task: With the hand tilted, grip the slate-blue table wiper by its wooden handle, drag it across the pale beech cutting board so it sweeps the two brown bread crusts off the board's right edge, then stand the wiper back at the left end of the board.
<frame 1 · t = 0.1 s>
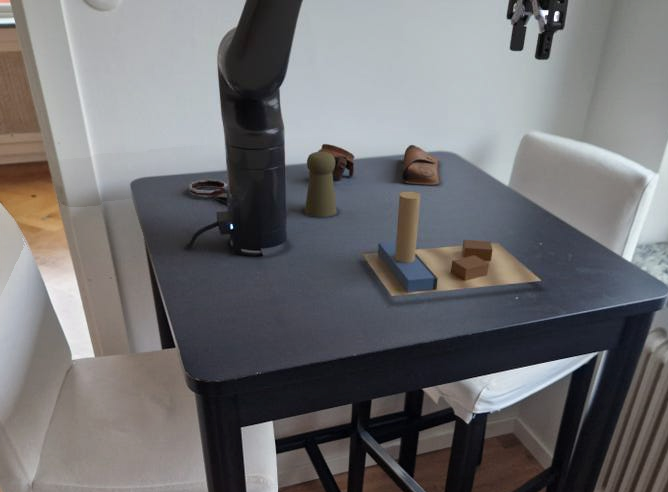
hand: (528, 55, 109), 29 cm above the table, tool pointing down, fingers open, 8 cm apart
cutting board: (448, 275, 106), on the table
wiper: (403, 271, 104), point 1 cm above the table, touching cutting board
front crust: (468, 273, 104), point 1 cm above the table, touching cutting board
keychain: (229, 200, 133), on the table
sunglasses case: (421, 173, 152), on the table
pottery mug: (332, 181, 145), on the table
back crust: (476, 256, 110), point 1 cm above the table, touching cutting board
olive game pawn: (320, 212, 129), on the table
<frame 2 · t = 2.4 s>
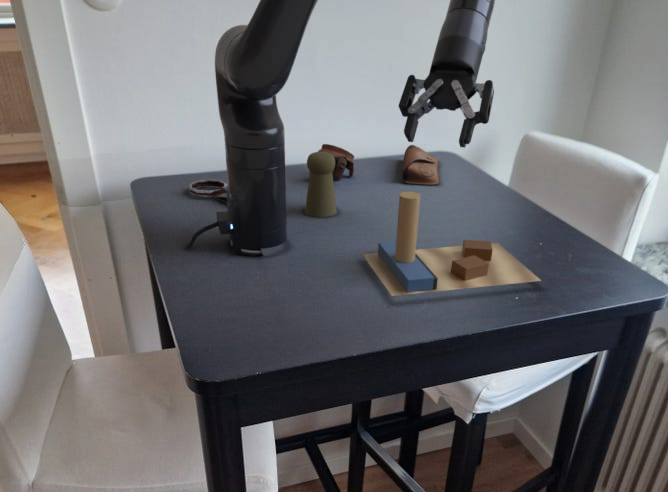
hand: (435, 142, 105), 18 cm above the table, tool tilted 40°, fingers open, 8 cm apart
nothing on the table moved.
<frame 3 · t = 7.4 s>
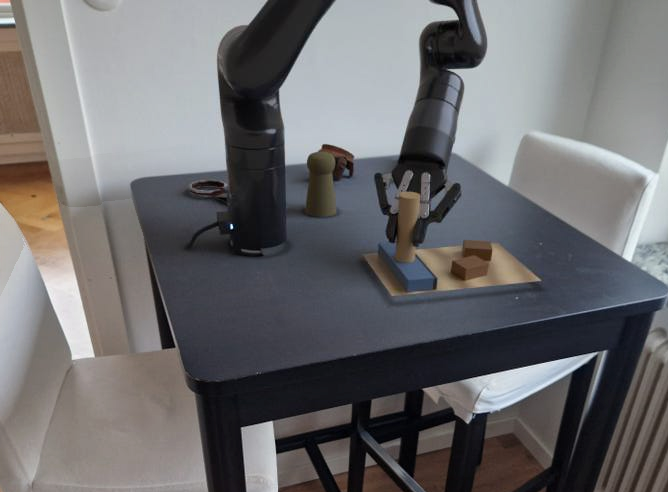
hand: (403, 242, 99), 7 cm above the table, tool tilted 45°, fingers closed on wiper, 3 cm apart
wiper: (403, 271, 104), point 2 cm above the table, touching cutting board, gripper
everything else where it was.
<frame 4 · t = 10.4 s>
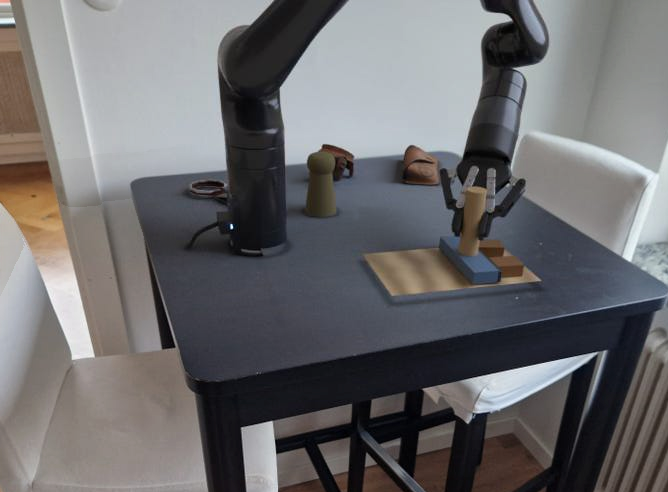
hand: (468, 236, 102), 7 cm above the table, tool tilted 45°, fingers closed on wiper, 3 cm apart
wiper: (466, 264, 106), point 2 cm above the table, touching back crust, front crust, gripper
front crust: (504, 272, 104), point 2 cm above the table, touching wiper
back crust: (487, 254, 110), point 1 cm above the table, touching cutting board, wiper
everything else where it was.
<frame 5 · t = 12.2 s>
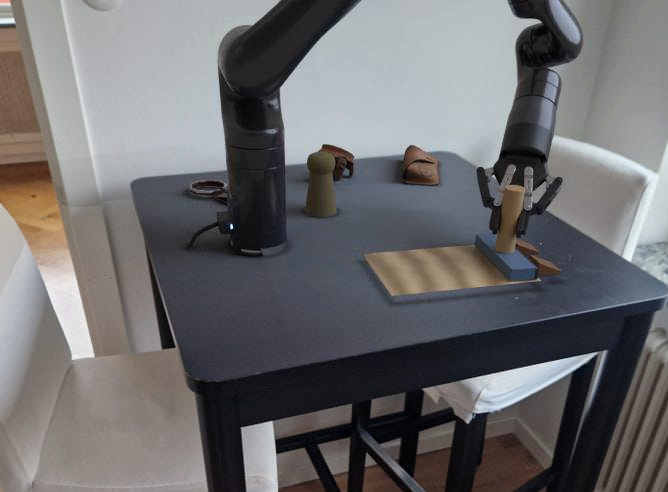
hand: (506, 233, 103), 7 cm above the table, tool tilted 45°, fingers closed on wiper, 3 cm apart
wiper: (502, 261, 108), point 2 cm above the table, touching cutting board, gripper
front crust: (539, 274, 106), point 1 cm above the table, tilted 22°, touching cutting board
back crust: (518, 255, 112), point 1 cm above the table, tilted 21°, touching cutting board
everything else where it was.
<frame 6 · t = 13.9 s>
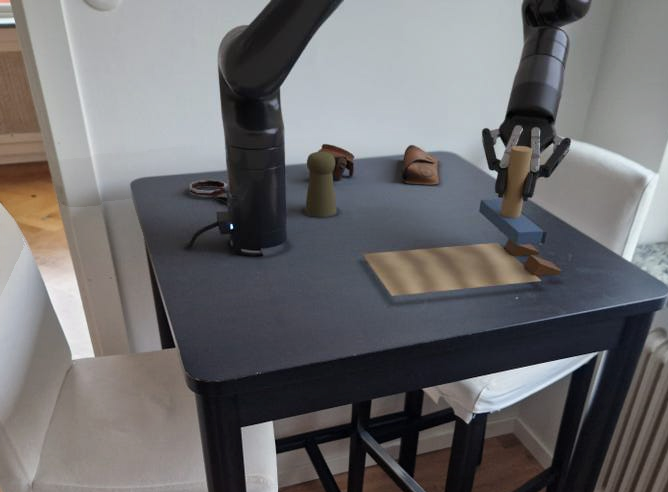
hand: (513, 196, 100), 13 cm above the table, tool tilted 45°, fingers closed on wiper, 3 cm apart
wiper: (508, 226, 105), point 7 cm above the table, touching gripper
everything else where it was.
when the fingers open (7 cm above the table, at t = 20.4 s): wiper stays where it is, resting on cutting board.
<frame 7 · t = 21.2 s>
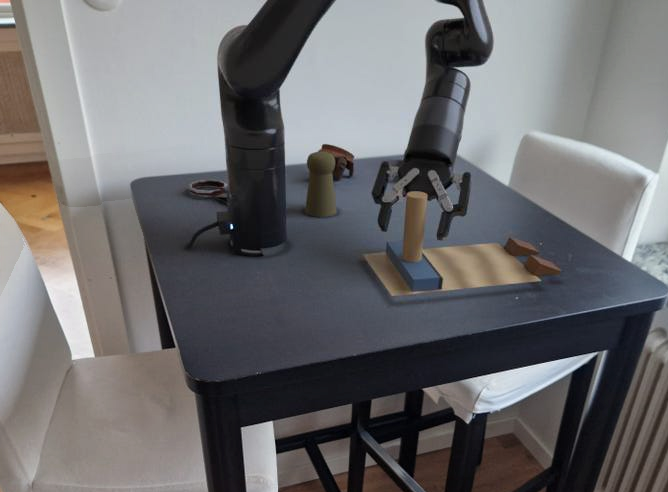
hand: (411, 234, 99), 8 cm above the table, tool tilted 45°, fingers open, 8 cm apart
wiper: (410, 270, 104), point 1 cm above the table, touching cutting board
everything else where it was.
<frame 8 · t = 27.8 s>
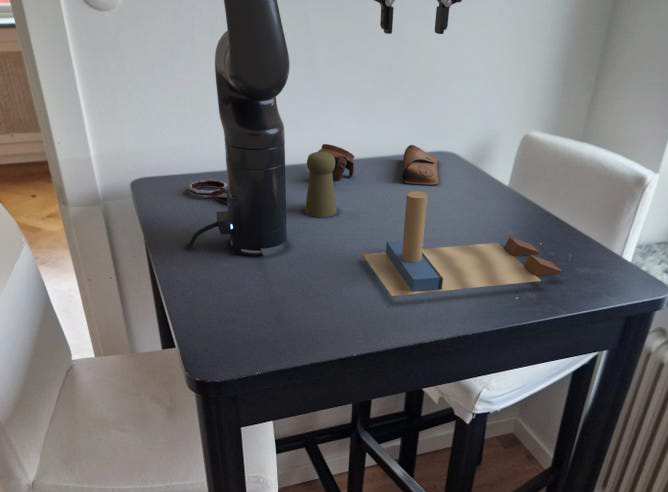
hand: (413, 33, 105), 32 cm above the table, tool pointing down, fingers open, 8 cm apart
nothing on the table moved.
at the end: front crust inside the target area (7.0 cm from its centre), point 0.8 cm above the table; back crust inside the target area (5.8 cm from its centre), point 0.8 cm above the table; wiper inside the target area (0.9 cm from its centre), point 1.5 cm above the table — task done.
